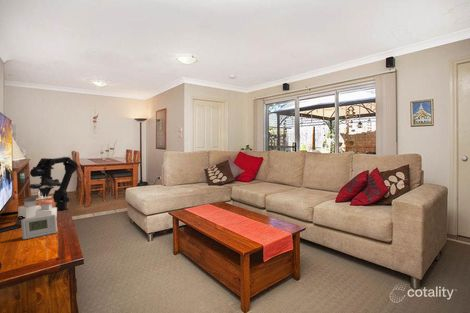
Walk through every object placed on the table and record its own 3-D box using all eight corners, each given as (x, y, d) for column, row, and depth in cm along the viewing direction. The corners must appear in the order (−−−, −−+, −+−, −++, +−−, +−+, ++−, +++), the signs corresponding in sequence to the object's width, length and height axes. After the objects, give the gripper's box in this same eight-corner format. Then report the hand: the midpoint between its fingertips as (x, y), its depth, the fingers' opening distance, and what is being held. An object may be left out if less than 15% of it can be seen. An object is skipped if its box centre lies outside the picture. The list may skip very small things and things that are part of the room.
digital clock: (21, 240, 130) (21, 220, 129) (20, 236, 136) (20, 217, 136) (58, 234, 141) (59, 216, 141) (56, 230, 147) (56, 213, 147)
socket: (32, 213, 180) (33, 204, 179) (40, 215, 176) (40, 205, 176) (18, 216, 171) (18, 206, 171) (26, 218, 168) (26, 208, 168)
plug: (32, 208, 178) (32, 197, 178) (37, 209, 175) (38, 198, 175) (21, 210, 172) (22, 198, 172) (27, 211, 169) (27, 199, 169)
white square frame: (41, 217, 171) (41, 207, 171) (56, 217, 174) (56, 207, 174) (35, 221, 163) (35, 210, 162) (51, 220, 165) (51, 210, 165)
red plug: (43, 211, 170) (43, 200, 170) (53, 211, 172) (54, 200, 172) (38, 214, 164) (39, 202, 164) (49, 213, 166) (50, 202, 166)
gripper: (39, 177, 167) (39, 200, 167) (66, 175, 184) (65, 196, 185) (28, 176, 170) (28, 198, 171) (56, 174, 188) (55, 194, 188)
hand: (45, 196), depth 178 cm, fingers closed
